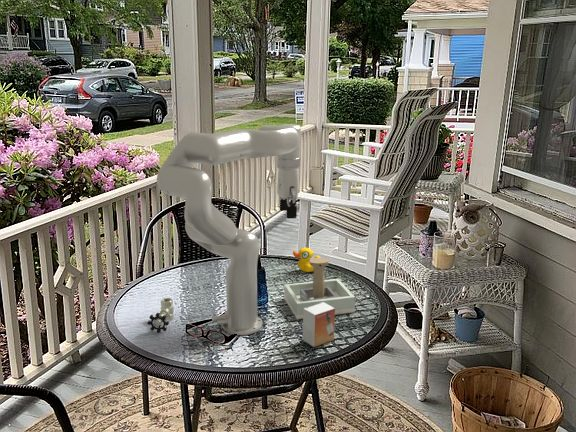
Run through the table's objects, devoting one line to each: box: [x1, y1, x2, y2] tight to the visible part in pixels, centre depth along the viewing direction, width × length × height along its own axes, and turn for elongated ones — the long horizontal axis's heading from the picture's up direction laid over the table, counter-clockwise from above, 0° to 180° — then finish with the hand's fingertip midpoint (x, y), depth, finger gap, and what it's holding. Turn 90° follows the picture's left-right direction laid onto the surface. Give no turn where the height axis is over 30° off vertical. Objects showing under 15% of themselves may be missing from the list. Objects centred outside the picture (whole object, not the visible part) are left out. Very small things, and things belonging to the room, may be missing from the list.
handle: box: [309, 257, 330, 299], centre depth 179 cm, size 5×6×15 cm
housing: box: [283, 278, 356, 320], centre depth 181 cm, size 20×16×6 cm
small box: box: [302, 302, 336, 348], centre depth 158 cm, size 8×6×10 cm
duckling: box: [292, 247, 321, 273], centre depth 210 cm, size 11×5×10 cm, turn 95°
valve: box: [146, 297, 175, 334], centre depth 168 cm, size 7×7×12 cm
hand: (287, 214), depth 176 cm, fingers open, 9 cm apart
